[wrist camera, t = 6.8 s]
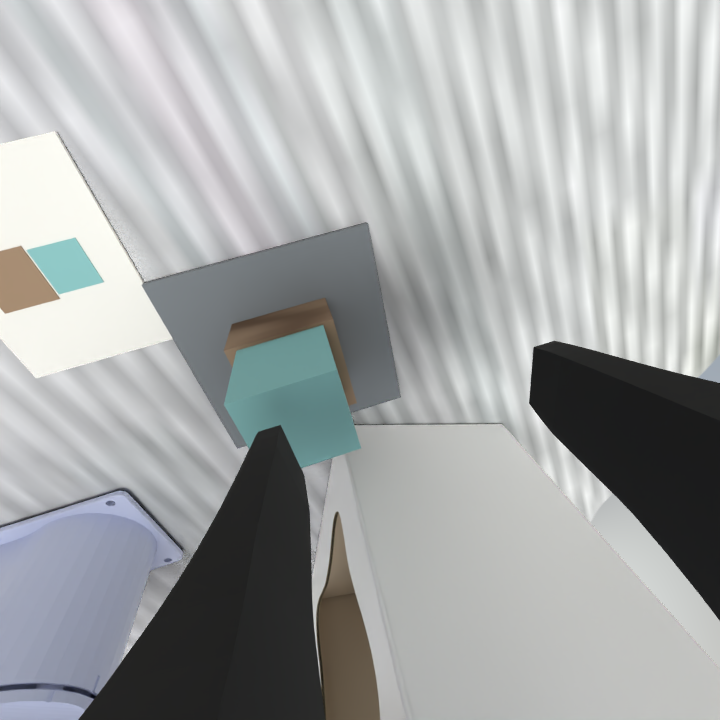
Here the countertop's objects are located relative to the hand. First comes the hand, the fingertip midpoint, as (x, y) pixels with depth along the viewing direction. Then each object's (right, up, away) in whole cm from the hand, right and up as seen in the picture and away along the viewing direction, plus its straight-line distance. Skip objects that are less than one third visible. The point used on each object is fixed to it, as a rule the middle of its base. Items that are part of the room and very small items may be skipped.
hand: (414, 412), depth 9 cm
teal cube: (-5, +1, +7) cm, 8 cm away
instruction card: (-15, +5, +5) cm, 17 cm away
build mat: (-5, +2, +10) cm, 11 cm away
